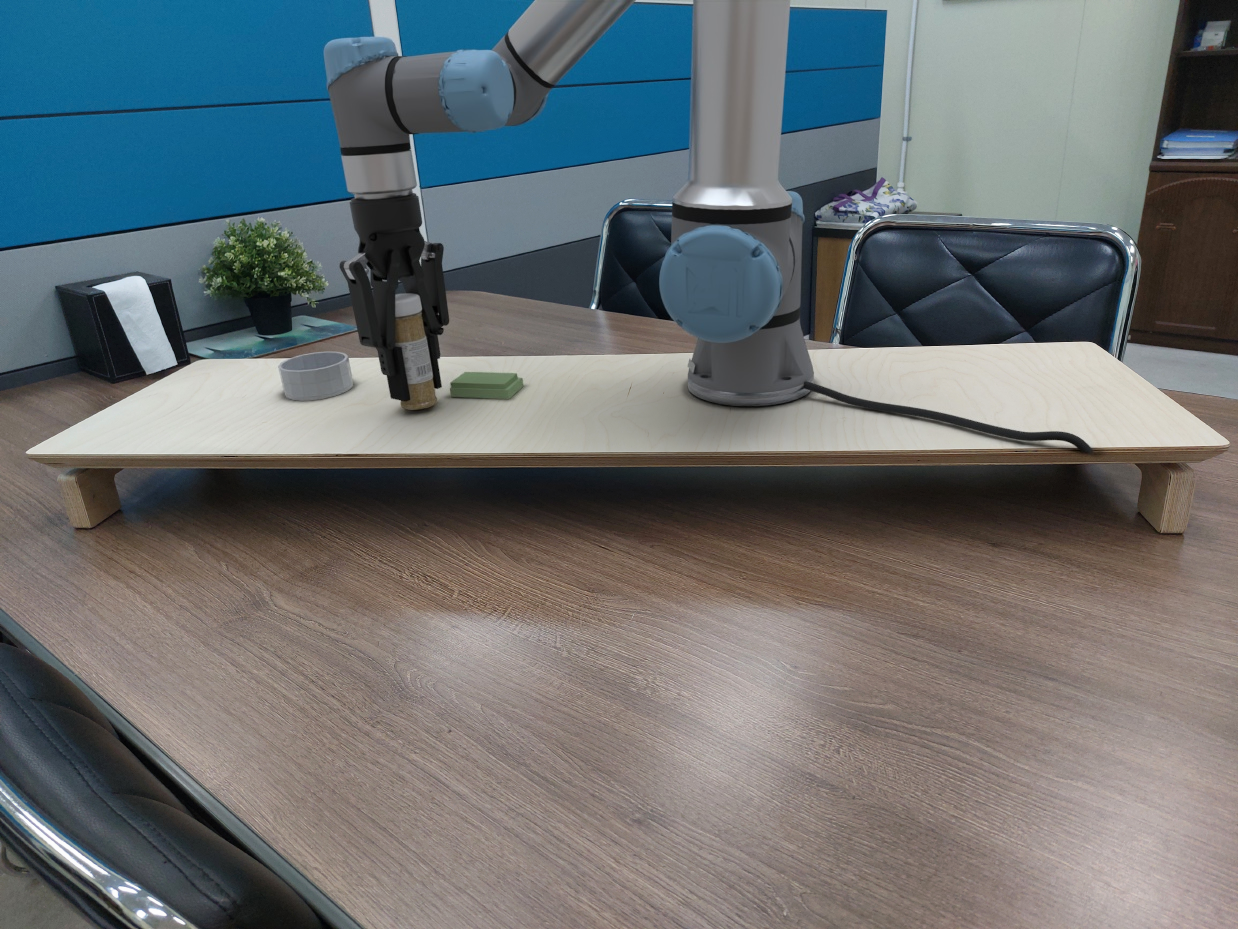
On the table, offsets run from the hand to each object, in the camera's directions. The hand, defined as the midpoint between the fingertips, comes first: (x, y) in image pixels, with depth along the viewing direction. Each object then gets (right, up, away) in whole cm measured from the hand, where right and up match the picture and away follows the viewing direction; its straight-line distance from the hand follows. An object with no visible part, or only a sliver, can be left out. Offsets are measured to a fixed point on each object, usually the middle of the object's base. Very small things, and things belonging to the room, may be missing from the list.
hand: (416, 392), depth 102 cm
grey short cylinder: (-16, +1, +10) cm, 19 cm away
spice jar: (0, -2, +1) cm, 2 cm away
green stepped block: (+8, +1, +5) cm, 9 cm away
